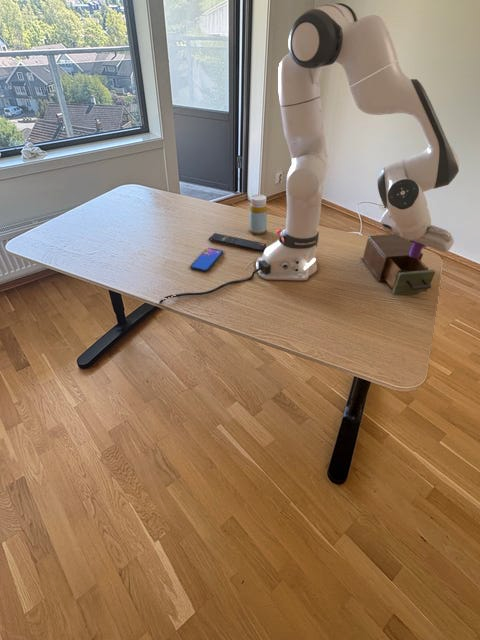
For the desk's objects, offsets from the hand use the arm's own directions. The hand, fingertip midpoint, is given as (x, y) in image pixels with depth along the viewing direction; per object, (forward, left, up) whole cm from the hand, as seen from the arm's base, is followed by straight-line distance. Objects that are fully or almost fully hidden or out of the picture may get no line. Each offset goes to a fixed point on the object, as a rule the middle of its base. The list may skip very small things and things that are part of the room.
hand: (419, 242), depth 107 cm
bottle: (-43, +47, -17) cm, 66 cm away
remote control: (-53, +37, -17) cm, 67 cm away
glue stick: (0, 0, -4) cm, 4 cm away
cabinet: (-1, +11, -16) cm, 20 cm away
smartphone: (-66, +26, -16) cm, 73 cm away
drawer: (-1, -1, -16) cm, 16 cm away
